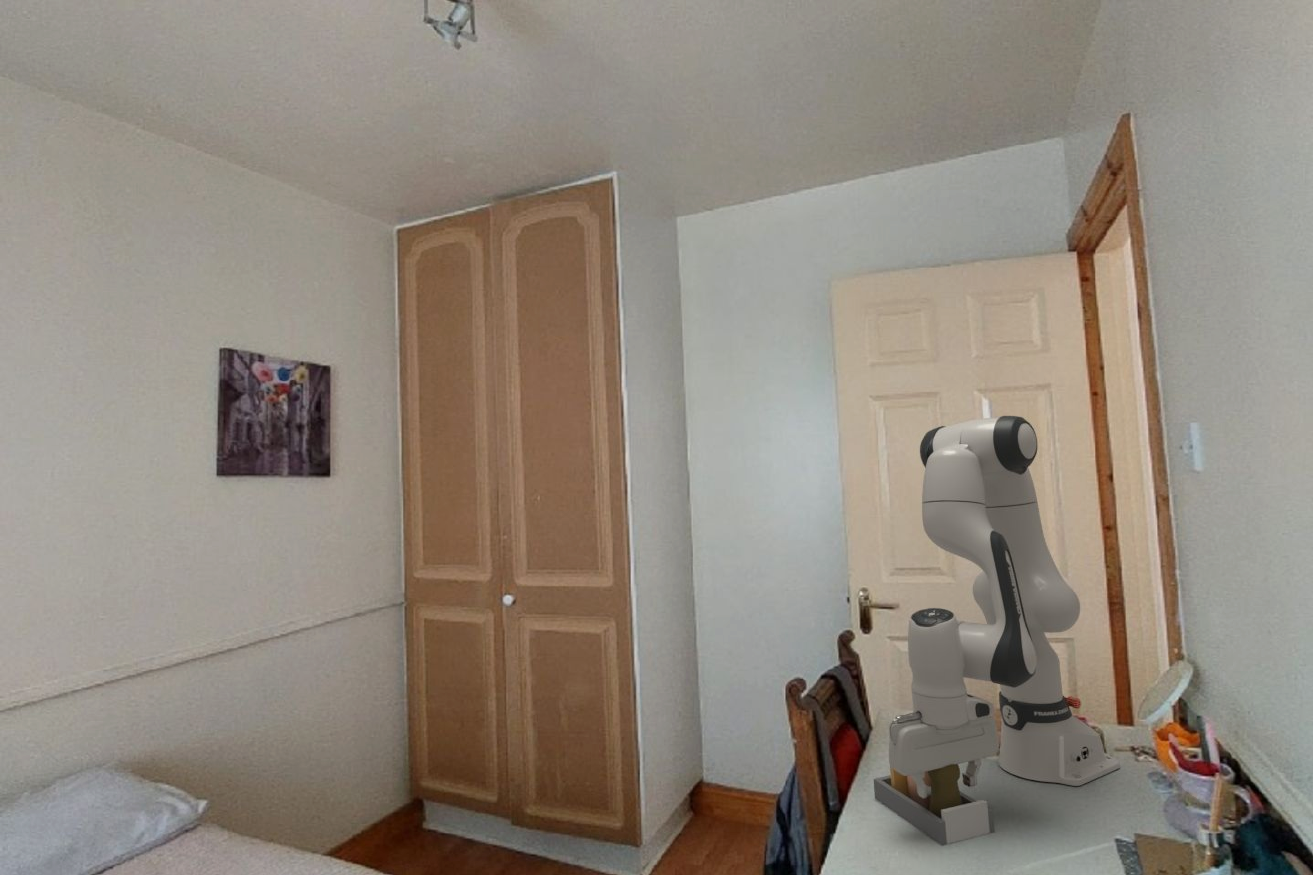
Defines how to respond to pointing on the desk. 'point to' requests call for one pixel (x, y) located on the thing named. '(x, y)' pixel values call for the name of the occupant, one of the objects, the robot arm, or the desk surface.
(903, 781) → the block
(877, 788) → the gray open box
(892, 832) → the desk surface
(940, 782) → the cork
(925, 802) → the terracotta jar
